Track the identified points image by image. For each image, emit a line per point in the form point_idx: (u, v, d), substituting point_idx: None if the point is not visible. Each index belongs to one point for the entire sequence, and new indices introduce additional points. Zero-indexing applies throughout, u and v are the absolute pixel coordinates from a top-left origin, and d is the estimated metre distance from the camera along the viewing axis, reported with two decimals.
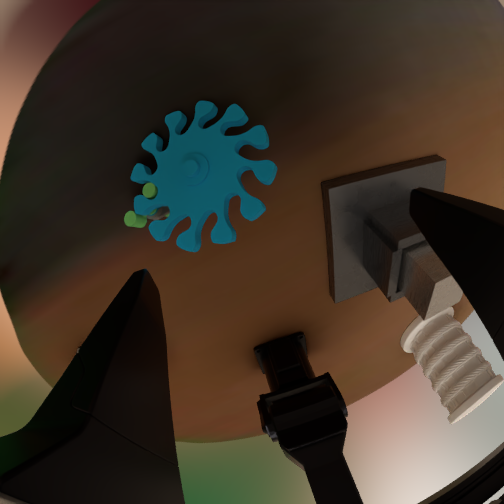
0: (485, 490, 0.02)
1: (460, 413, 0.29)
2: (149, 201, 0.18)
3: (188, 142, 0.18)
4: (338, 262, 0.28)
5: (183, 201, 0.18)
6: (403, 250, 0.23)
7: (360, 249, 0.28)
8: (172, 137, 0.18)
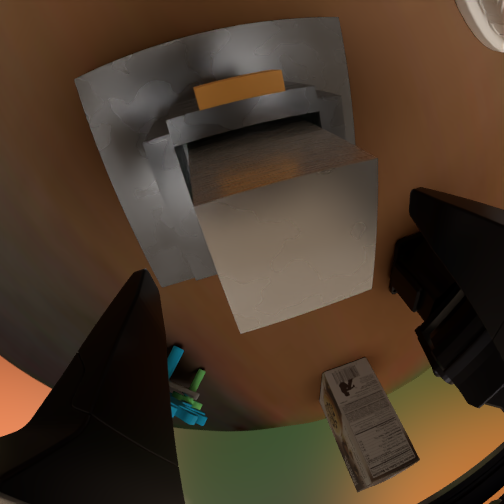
0: (485, 490, 0.02)
1: None
2: None
3: None
4: None
5: None
6: None
7: None
8: None
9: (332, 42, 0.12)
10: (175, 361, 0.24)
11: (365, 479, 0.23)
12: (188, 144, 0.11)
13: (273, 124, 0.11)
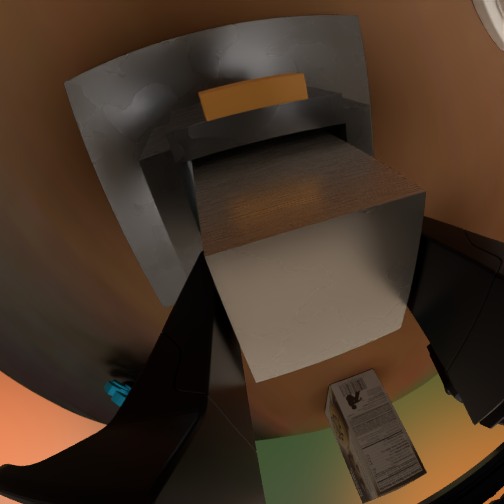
0: (485, 490, 0.02)
1: None
2: None
3: None
4: None
5: None
6: None
7: None
8: None
9: (351, 43, 0.11)
10: None
11: (371, 492, 0.21)
12: None
13: (291, 136, 0.09)
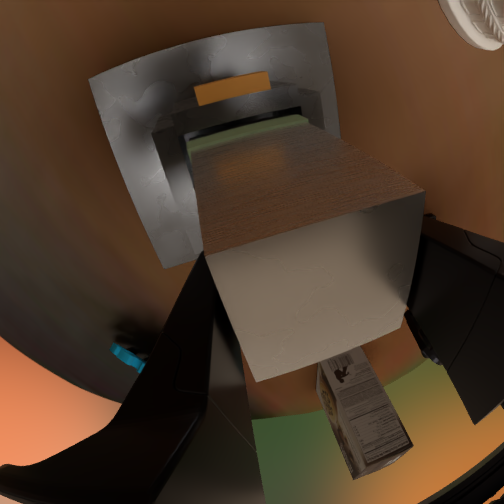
0: (485, 490, 0.02)
1: None
2: None
3: None
4: None
5: None
6: None
7: None
8: None
9: (318, 45, 0.14)
10: None
11: (360, 464, 0.24)
12: (192, 159, 0.10)
13: (291, 136, 0.09)
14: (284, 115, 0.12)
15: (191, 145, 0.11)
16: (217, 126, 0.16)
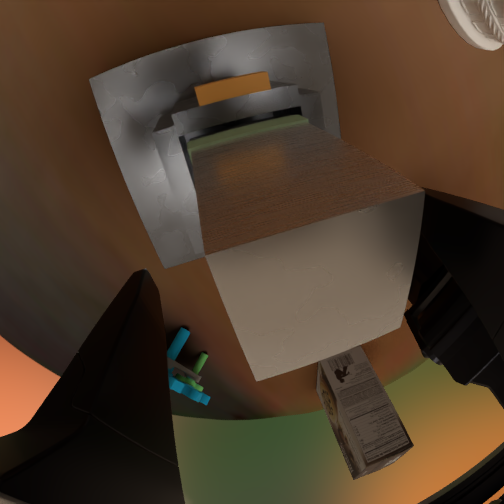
0: (485, 490, 0.02)
1: None
2: None
3: None
4: None
5: None
6: None
7: None
8: None
9: (318, 45, 0.14)
10: (181, 342, 0.26)
11: (360, 464, 0.24)
12: (193, 159, 0.10)
13: (291, 136, 0.09)
14: (284, 115, 0.12)
15: (192, 145, 0.11)
16: (217, 126, 0.16)
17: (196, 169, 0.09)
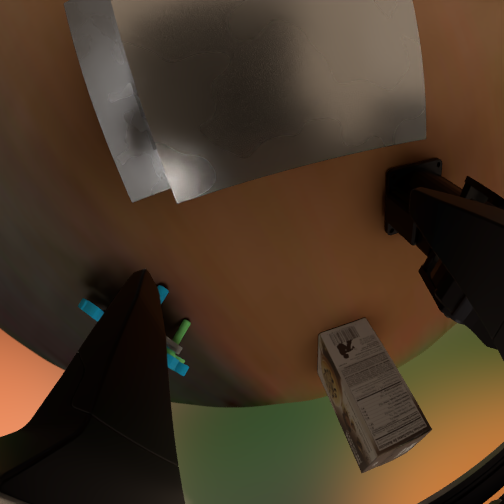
0: (485, 490, 0.02)
1: None
2: None
3: None
4: None
5: None
6: None
7: None
8: None
9: None
10: None
11: (370, 453, 0.21)
12: None
13: None
14: None
15: None
16: None
17: None
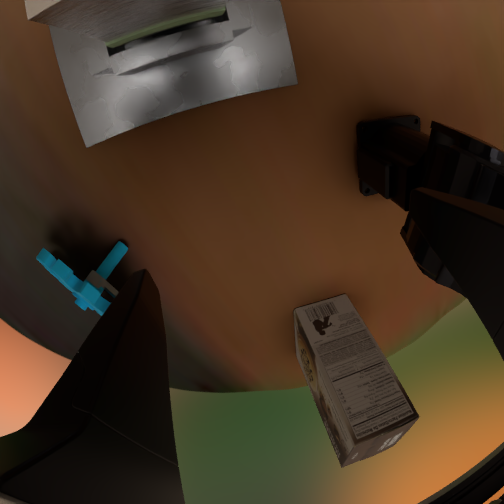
0: (485, 490, 0.02)
1: None
2: None
3: (71, 290, 0.20)
4: (205, 96, 0.16)
5: None
6: (96, 35, 0.06)
7: (184, 62, 0.14)
8: None
9: None
10: (115, 257, 0.21)
11: (347, 442, 0.19)
12: None
13: None
14: None
15: None
16: None
17: None
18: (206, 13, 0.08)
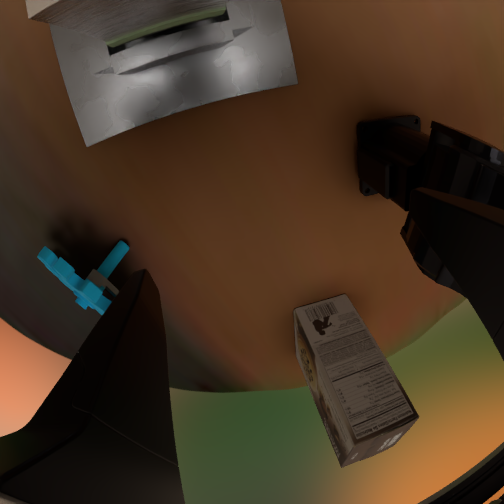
0: (485, 490, 0.02)
1: None
2: None
3: (71, 289, 0.20)
4: (205, 95, 0.16)
5: None
6: (96, 34, 0.06)
7: (185, 61, 0.14)
8: (74, 292, 0.21)
9: None
10: (117, 257, 0.21)
11: (347, 442, 0.19)
12: None
13: None
14: None
15: None
16: None
17: None
18: (206, 13, 0.08)
